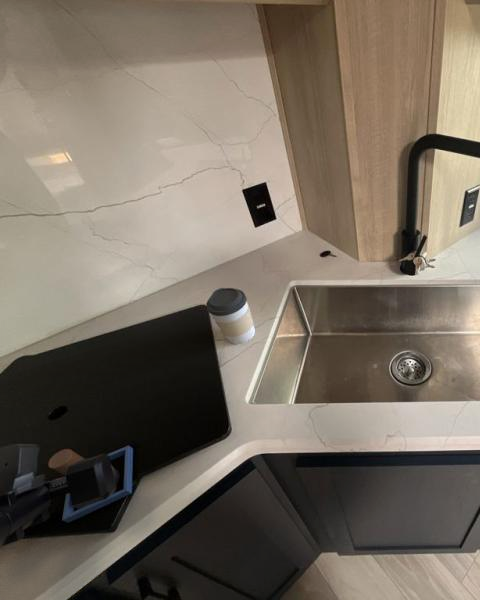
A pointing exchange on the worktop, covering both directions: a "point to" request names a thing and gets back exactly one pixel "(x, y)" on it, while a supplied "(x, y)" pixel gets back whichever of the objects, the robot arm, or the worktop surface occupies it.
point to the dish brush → (70, 462)
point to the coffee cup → (231, 314)
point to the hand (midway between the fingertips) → (71, 473)
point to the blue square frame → (69, 509)
